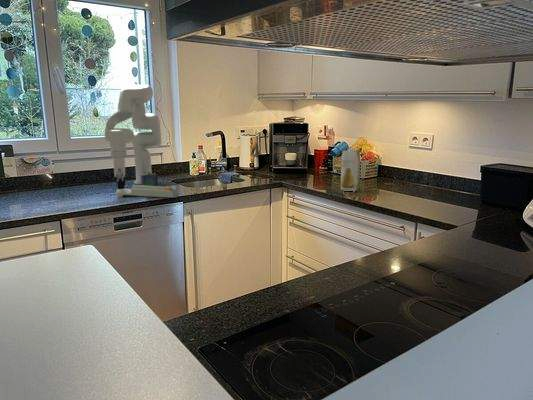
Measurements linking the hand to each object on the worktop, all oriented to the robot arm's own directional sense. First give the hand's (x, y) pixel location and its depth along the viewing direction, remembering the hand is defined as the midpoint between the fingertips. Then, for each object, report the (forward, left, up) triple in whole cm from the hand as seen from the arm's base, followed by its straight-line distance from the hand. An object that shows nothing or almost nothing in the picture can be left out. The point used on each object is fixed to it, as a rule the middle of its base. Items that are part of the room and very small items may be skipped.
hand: (121, 187), depth 211 cm
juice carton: (+18, +122, -6) cm, 123 cm away
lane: (0, +12, -6) cm, 13 cm away
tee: (0, -8, -6) cm, 10 cm away
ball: (0, +25, -4) cm, 25 cm away
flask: (-19, +14, -6) cm, 24 cm away
